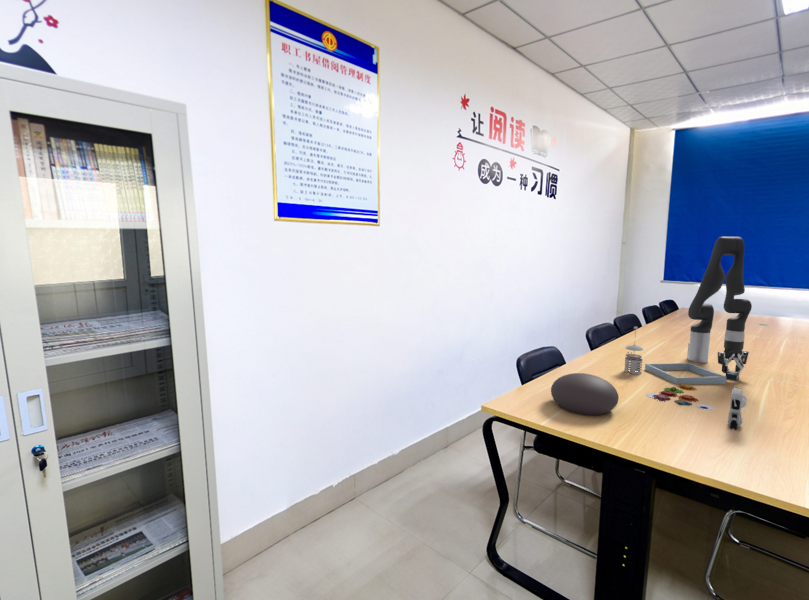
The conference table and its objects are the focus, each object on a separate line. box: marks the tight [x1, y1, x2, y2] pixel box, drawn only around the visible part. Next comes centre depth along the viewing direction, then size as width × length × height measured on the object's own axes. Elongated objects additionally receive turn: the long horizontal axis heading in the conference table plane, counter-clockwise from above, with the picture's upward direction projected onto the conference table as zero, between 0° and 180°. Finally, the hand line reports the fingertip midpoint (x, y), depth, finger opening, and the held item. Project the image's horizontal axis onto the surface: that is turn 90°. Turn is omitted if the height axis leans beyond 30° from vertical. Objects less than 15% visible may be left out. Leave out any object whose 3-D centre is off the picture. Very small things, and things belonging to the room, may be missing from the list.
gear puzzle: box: [653, 384, 700, 407], centre depth 181 cm, size 31×16×4 cm, turn 133°
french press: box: [623, 326, 644, 375], centre depth 212 cm, size 10×12×25 cm
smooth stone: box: [550, 372, 619, 416], centre depth 166 cm, size 25×25×15 cm
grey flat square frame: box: [644, 362, 727, 385], centre depth 207 cm, size 24×24×4 cm
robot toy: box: [727, 385, 748, 431], centre depth 148 cm, size 12×4×15 cm, turn 139°
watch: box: [724, 357, 745, 381], centre depth 204 cm, size 6×8×11 cm
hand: (731, 372), depth 205 cm, fingers closed on watch, 6 cm apart
